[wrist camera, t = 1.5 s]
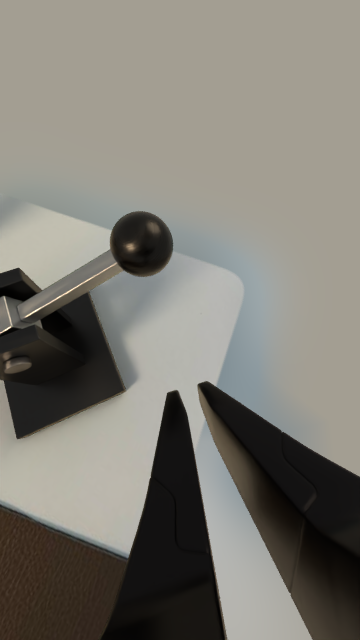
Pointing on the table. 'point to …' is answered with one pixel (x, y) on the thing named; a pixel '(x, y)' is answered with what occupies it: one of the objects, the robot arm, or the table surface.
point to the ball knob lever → (97, 270)
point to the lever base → (55, 361)
